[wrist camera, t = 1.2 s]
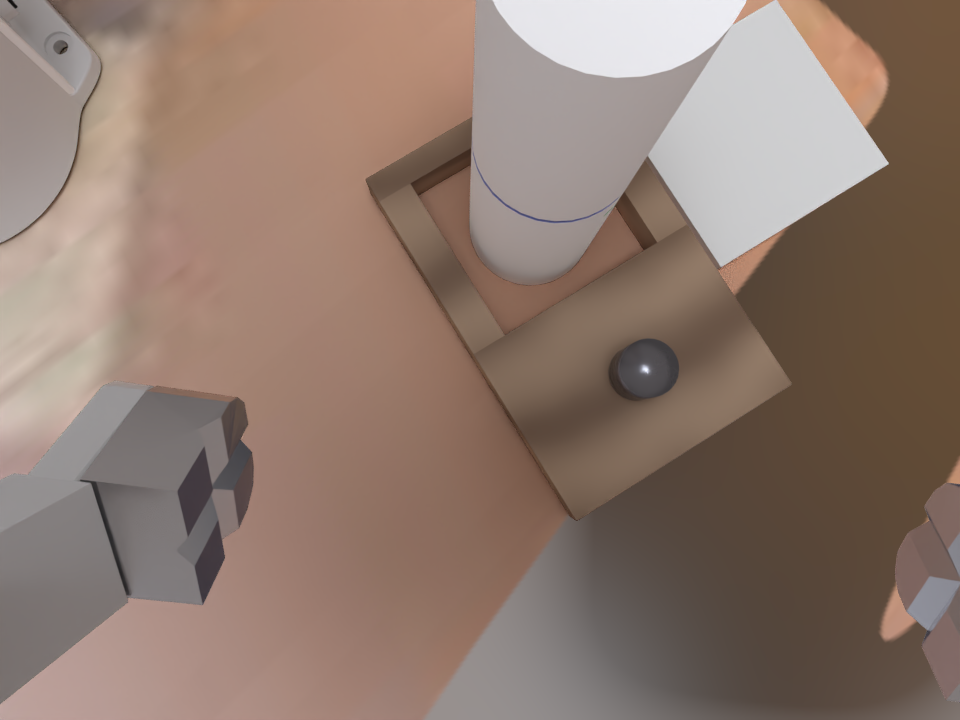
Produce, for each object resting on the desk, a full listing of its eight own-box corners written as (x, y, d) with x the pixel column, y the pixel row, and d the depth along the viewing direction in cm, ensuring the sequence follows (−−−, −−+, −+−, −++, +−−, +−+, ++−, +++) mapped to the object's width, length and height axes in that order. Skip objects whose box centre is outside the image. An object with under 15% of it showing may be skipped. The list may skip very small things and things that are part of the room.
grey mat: (606, 103, 45) (609, 97, 44) (770, 7, 46) (776, -1, 45) (716, 270, 44) (721, 267, 43) (881, 168, 45) (888, 163, 44)
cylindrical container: (446, 205, 44) (425, -104, 19) (549, 146, 44) (660, -230, 19) (509, 307, 43) (573, 129, 18) (612, 246, 44) (810, -9, 19)
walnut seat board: (370, 194, 44) (357, 158, 38) (570, 77, 45) (585, 27, 39) (570, 516, 42) (586, 527, 36) (773, 387, 43) (818, 379, 38)
